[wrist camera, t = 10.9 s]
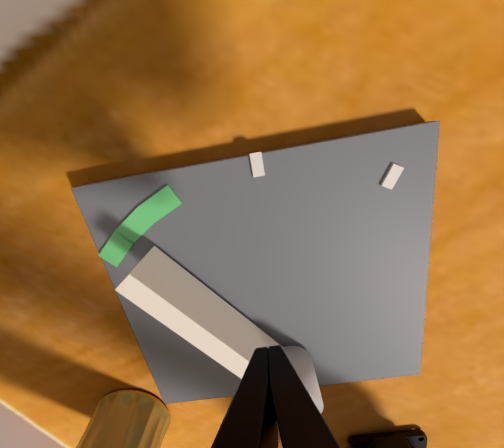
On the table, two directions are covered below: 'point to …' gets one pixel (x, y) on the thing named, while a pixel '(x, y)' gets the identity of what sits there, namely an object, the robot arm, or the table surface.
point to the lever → (206, 318)
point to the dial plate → (285, 252)
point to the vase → (127, 421)
